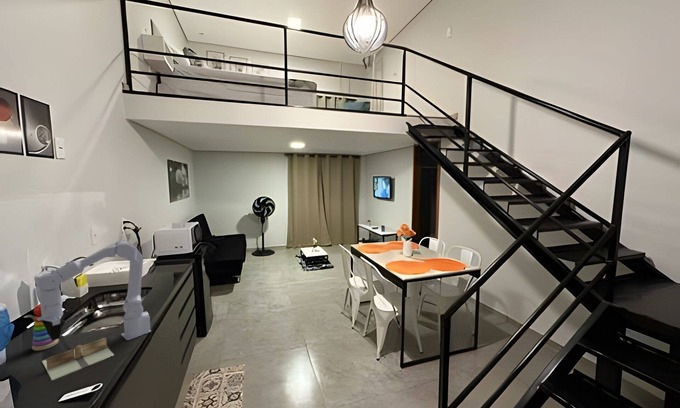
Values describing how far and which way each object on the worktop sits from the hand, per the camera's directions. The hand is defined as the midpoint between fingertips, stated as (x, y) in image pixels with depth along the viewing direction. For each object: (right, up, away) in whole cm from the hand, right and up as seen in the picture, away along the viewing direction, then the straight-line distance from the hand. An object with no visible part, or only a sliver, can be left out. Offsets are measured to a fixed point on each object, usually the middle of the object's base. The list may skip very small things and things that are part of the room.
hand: (54, 336), depth 111 cm
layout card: (+9, -9, +1) cm, 13 cm away
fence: (+11, -9, +5) cm, 15 cm away
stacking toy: (-14, -9, +10) cm, 19 cm away
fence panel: (+6, -9, -3) cm, 11 cm away
